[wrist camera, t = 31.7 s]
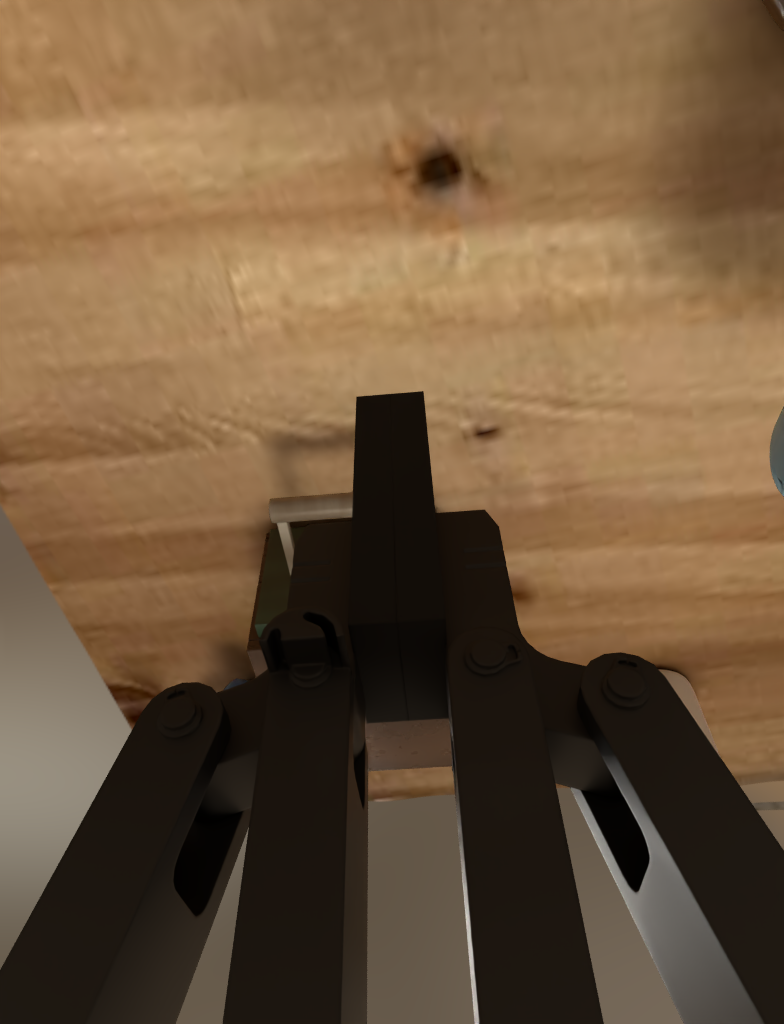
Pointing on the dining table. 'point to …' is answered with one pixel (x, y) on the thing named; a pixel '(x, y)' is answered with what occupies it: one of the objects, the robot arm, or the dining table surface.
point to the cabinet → (381, 724)
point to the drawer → (291, 546)
